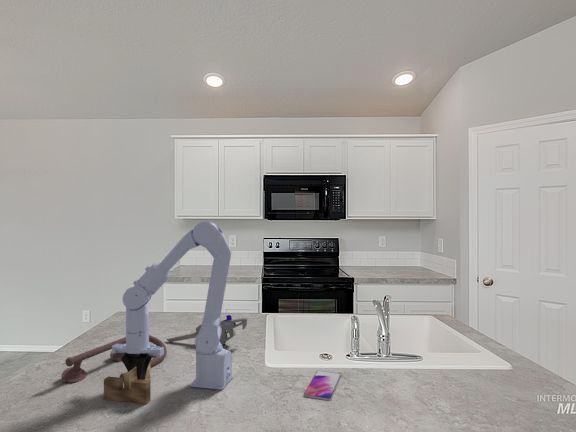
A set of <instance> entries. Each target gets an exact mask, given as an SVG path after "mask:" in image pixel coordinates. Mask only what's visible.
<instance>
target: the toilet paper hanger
mask: <svg viewBox="0 0 576 432" xmlns="http://www.w3.org/2000/svg"><path fill="white" fill-rule="evenodd" d="M149 343H151V344H152V345H155V346H159V347H164V354H163V355H162V356H160V357H156V356H155V357H154V358H152V359H151V361H150V368H152V367H154V366H156V365H158V364H160V363H162V362H163V361H164V359H165V358H166V357H167V352H168V350H167V346H166V345H165V343H164V342H163V341H162V340H160V339H159V338H157V337H155V336H153V335H150V334H149ZM115 344H126V336H124V337H122V338H119V339H117V340H114V341H112V342H108V343H106V344H104V345H99V346H98V347H95V348H92V349H90V350H87V351H85V352H82V353H80V354H77V355H75V356H72V357H70V356H69V357H67V358H66V359H65V362H64V363H65V365H66V366H67V368H66V369H64V370H63V371H62V372H61V379H62V381H63V382H66V383H67V384H68V383H69V384H76V383H78V382H82V381H83V380H85V378H86V377H87V372H86V370H85V369H84V368H82V367H81V366H82V362H83V361H85V360H88V359H90V358H92V357H95V356H97V355H100V354H102V353H105V352H107V351H109V350H111V351H110V354H109V357H110V358H111V360H114V361H115V362H118V363H119V362H122V361H121V358H122V357H123V356H124V353H112V346H113V345H115ZM127 372H128V371H126V372H121V374H119V376H118V377H119V378H123V383H124V374H126V373H127Z"/></svg>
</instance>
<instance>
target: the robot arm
mask: <svg viewBox="0 0 576 432" xmlns="http://www.w3.org/2000/svg"><path fill="white" fill-rule="evenodd" d="M199 246H201V247H203V248H204V249H206V250H207V251H208V253H209V254H210V255H211V256H212V257H213V261H212V266H211V273H210V277H209V278H210V279H209V283H208V284H209V285H208V289H207V294H206V300H205V307H204V313H203V316H202V317H203V318H202V322H201V324H202V325H201V324H200V325H201V327H200V331H199V333H198V335H197V336H196V338H194V345H195V379H194V380H193V381H192V382H191V383H189V387H191V388H200V389H211V390H220V391H221V390H224V388H225V387H226V386H227V385H228V384H229V383H230V381H231V380H232V378H233V377H234V375H233V354H232V351H231V350H227V349H225V348H223V344H221V343H220V341H219V340H220V336H221V334H222V328H221V325H220V321H222V320H221V317H222V311H223V304H224V300H225V295H226V294H225V293H226V287H227V281H228V275H229V269H230V263H231V258H232V250H231V248H230V245H229V243H228V240H227V239H226V236H225V233H224V231H223V230H222V229H221V228H220V227H219V226H218V225H217V223H215V222H213V221H200V222H198V223H197V224H196V225H195V226H194V227H193V229H190V230H189V231H188V232H187V233H186V234H185V235H184V236H182V237H181V239H180V240H179V241H178V242H177V243H176V244H175V246H173V248H172V249H171V250H170V251H169V253H168V254H167V255H166V256H165V257H164V259H163V260H162V261H161V262H159V263H157V262H156V263H155V262H154V263H153V264H151V265H148V266H146V267H145V269H144V270H145V271H144V273H143V274H142V275H141V276H140V277H139V278H138V279H136V280H134V281H133V283H132V284H133V285H134V286H131V287H129V288H127V289H126V290H125V292H124V293H123V295H122V304H123V305H124V306H125V337H126V344H115V345H113V346H112V349H111V351H112V353H124V356H123V357H122V358H121V361H120V362H121V363H122V364H123V365H124V367H125V368H126V370H127V371H126V372H129V371H130V370H132V369H133V368H135V367H136V368H137V379H140V380H145V376H146V372H147V368H148V366H149V363H150V361H151V360H152V359H153V357H154V356H155V358H156V357H160V356H162V355H163V354H164V347H159V346H156V345H155V344H153V343H151V344H150V342H149V335H150V318H149V317H150V315H149V313H150V312H149V302H150V301H151V300H152V296H154V294H156V292H158V291H159V289H160V288H161V287H162V286H164V284H165V283H166V282H167V281H168V279H170V276H171V275H170V272H171V271H170V270H171V269H172V268H173V267H174V266H175V265H176V264H177V263H179V261H180V260H181V259H182V258H183V257H184V256H185V255H187V253H188V252H189V251H190V250H192V249H194V248H197V247H199Z"/></svg>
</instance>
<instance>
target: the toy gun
mask: <svg viewBox="0 0 576 432" xmlns="http://www.w3.org/2000/svg"><path fill="white" fill-rule="evenodd" d="M225 317H226V318H224V319H222V320H220V325H221V328H222V334H221V336H220V340H219V341H220V343H221V344H222V345H225V344H226V343H227V342H228V341H229V340H231V339H232V338H233V337H235V335H236V331H235V330H234V329H235V328H238V327H240V326H241V325H242V328H241V329H242V330H245V329H246V327H247V325H248V317H241V318H235V319H234V318H233V316H232V315H231V314H227V315H226V316H225ZM201 325H202V323H201V324H199V325H198V326H196V328H195V331H194V332H190V333H183V334H179V335H175V336H172V337H168V338H166V341H167V342H169V343H175V342H178V341H179V342H180V341H185V340H191V339H195V338H196V336H197V335H198V333H199V331H200V327H201ZM228 335H229V336H228Z"/></svg>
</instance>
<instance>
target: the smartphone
mask: <svg viewBox="0 0 576 432" xmlns="http://www.w3.org/2000/svg"><path fill="white" fill-rule="evenodd" d="M341 377H342V374H341V373H339V372H331V371H326V370H317V371H315V374H314V376H313V377H312V378H311V380H310V382H309V384H308V385H307V387H306V389H305V391H304V392H303V397H305V398H309V399H316V400H321V401H322V400H323V401H329V402H330V401H332V400H333V397H334V395H335V392H336V390H337V387H338V385H339V383H340V380H341Z"/></svg>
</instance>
